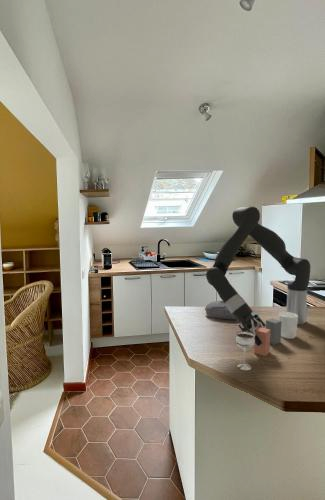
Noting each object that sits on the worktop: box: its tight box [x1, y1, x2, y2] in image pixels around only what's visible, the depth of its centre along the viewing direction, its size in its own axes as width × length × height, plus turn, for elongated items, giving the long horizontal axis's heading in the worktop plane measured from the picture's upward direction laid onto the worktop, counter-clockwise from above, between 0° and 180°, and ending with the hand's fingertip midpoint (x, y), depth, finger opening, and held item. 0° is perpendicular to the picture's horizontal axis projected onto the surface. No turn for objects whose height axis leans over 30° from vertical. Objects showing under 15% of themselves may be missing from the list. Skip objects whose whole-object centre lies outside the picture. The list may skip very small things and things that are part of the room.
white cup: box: [278, 311, 298, 340], centre depth 137 cm, size 8×8×10 cm
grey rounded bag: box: [204, 300, 236, 320], centre depth 165 cm, size 15×8×20 cm
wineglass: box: [235, 330, 255, 371], centre depth 108 cm, size 7×7×12 cm
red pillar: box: [253, 327, 271, 357], centre depth 120 cm, size 4×4×10 cm
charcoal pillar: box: [265, 318, 282, 346], centre depth 130 cm, size 4×4×10 cm
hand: (264, 341), depth 119 cm, fingers open, 8 cm apart
